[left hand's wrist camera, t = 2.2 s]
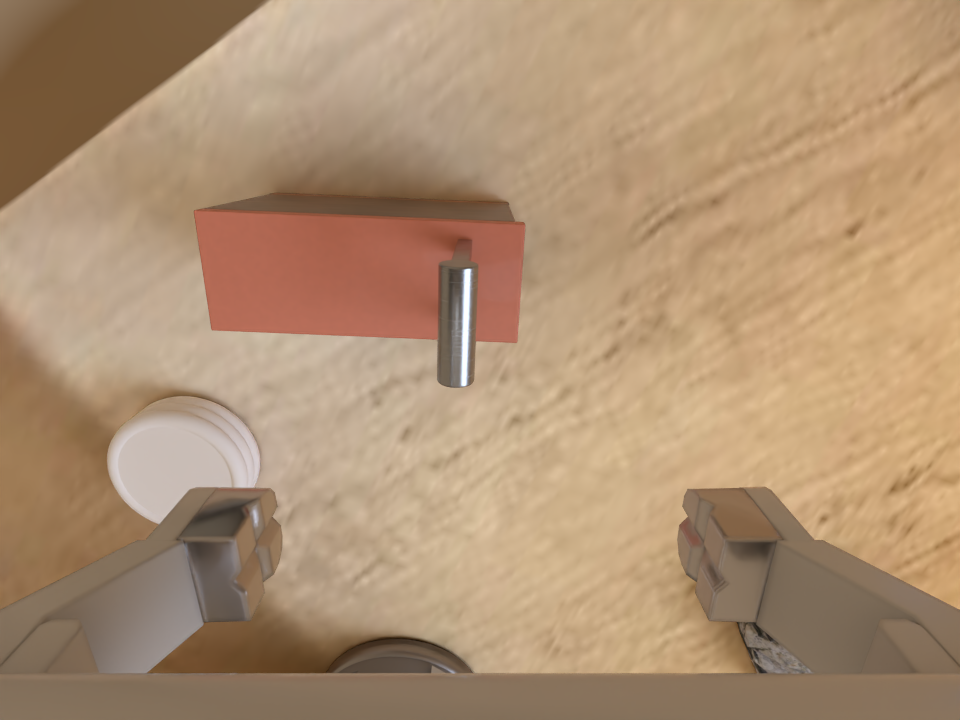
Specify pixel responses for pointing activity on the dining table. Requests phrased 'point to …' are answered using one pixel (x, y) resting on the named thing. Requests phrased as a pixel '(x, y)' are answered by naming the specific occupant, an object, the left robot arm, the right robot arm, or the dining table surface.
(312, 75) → the dining table surface
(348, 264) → the lid
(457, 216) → the chest
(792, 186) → the dining table surface
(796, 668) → the rock
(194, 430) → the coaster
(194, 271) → the dining table surface
